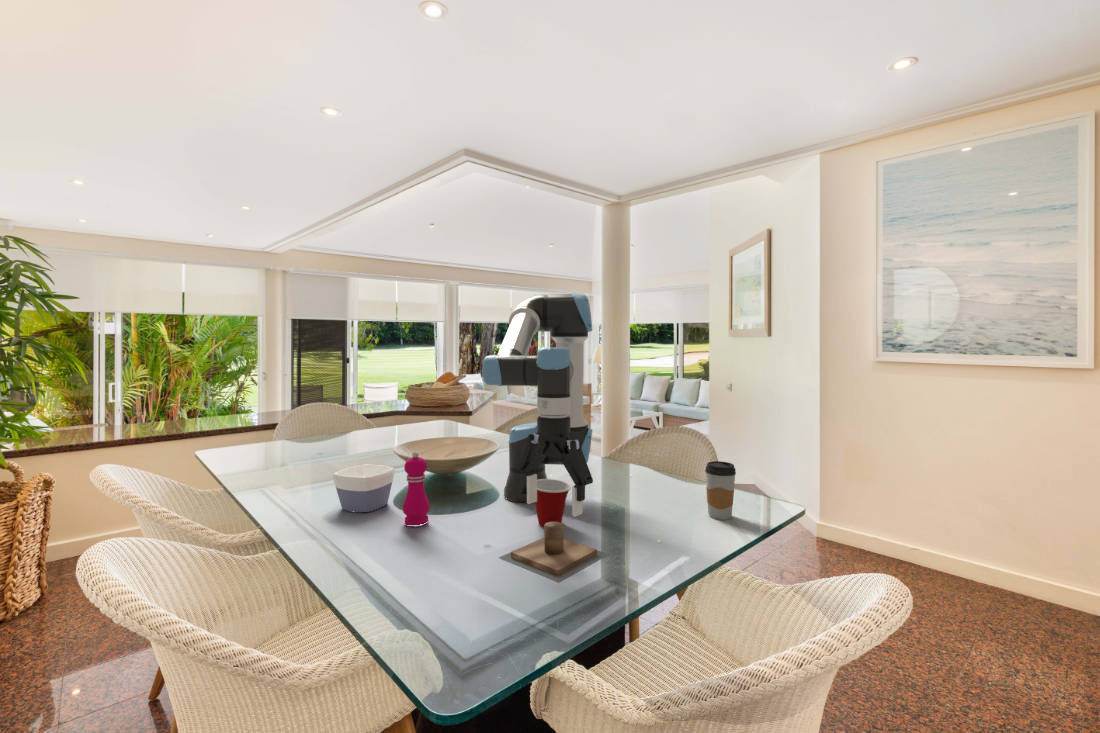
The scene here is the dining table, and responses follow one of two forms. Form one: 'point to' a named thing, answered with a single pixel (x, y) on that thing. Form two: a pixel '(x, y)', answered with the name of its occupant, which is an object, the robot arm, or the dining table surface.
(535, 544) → the lid
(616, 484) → the dining table surface
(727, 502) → the coffee cup
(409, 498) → the pepper mill
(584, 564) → the mat
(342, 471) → the bowl
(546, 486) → the plastic cup
